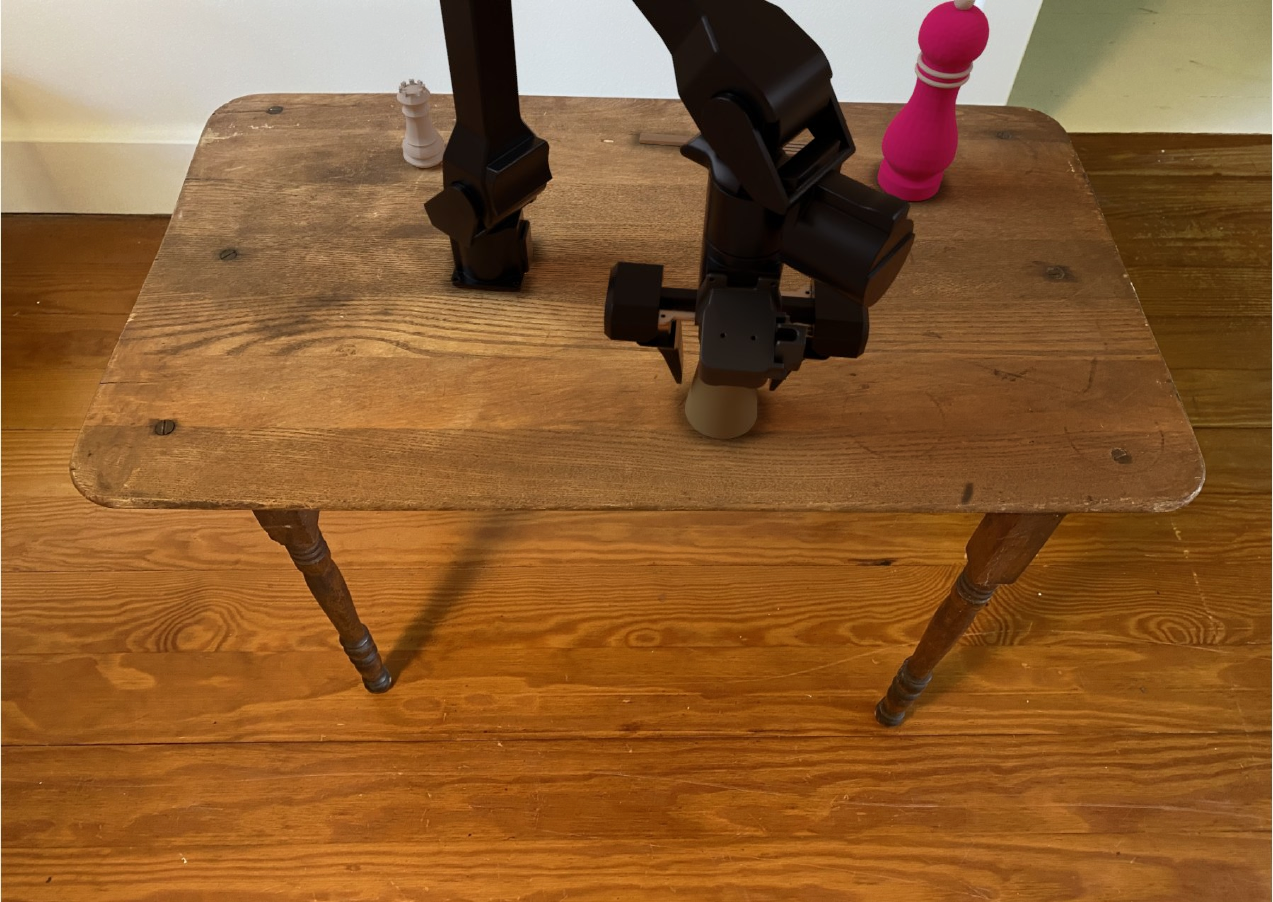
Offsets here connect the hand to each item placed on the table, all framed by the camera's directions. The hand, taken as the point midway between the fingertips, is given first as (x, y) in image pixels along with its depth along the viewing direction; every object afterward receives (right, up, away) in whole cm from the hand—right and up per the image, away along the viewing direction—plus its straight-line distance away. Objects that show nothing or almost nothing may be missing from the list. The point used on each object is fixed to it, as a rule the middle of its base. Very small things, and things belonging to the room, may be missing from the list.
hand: (725, 383), depth 73 cm
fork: (+3, +27, +24) cm, 36 cm away
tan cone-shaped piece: (0, -2, +3) cm, 4 cm away
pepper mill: (+21, +22, +21) cm, 37 cm away
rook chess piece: (-29, +25, +22) cm, 44 cm away
